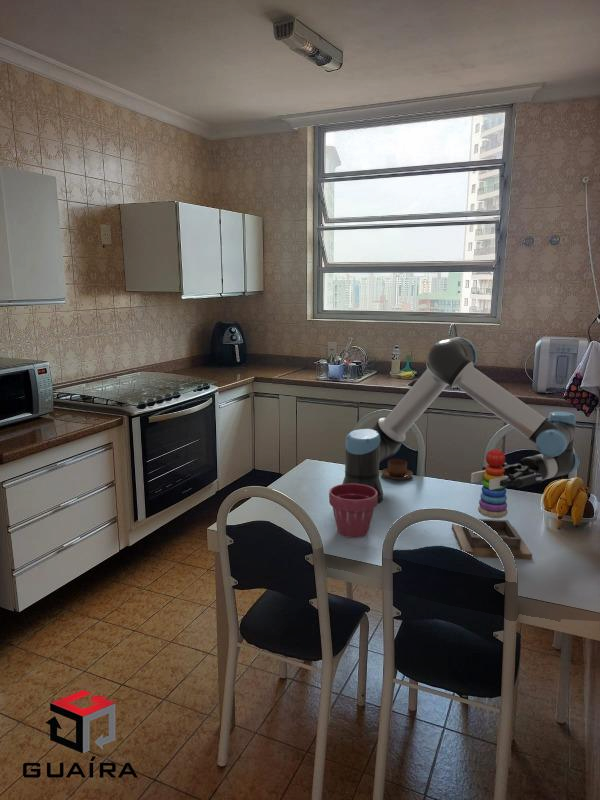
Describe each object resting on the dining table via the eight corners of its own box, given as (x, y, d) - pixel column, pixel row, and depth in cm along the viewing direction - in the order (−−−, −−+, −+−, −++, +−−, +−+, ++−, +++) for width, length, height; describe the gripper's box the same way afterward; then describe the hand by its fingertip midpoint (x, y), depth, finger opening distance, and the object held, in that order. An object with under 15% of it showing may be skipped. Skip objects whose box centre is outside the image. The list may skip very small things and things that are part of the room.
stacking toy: (508, 510, 158) (513, 447, 154) (506, 521, 151) (512, 456, 147) (479, 506, 161) (484, 444, 157) (476, 516, 154) (481, 452, 150)
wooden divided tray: (463, 556, 150) (464, 540, 149) (451, 528, 168) (452, 514, 167) (531, 559, 148) (533, 543, 147) (513, 531, 166) (514, 517, 165)
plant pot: (320, 534, 163) (320, 493, 161) (342, 518, 175) (342, 480, 173) (364, 546, 156) (365, 503, 153) (384, 528, 168) (385, 488, 165)
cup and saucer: (386, 470, 223) (387, 455, 222) (415, 474, 218) (416, 459, 217) (377, 479, 212) (378, 463, 211) (408, 483, 207) (408, 468, 206)
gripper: (564, 490, 156) (507, 505, 144) (510, 471, 172) (455, 484, 160) (566, 464, 154) (509, 477, 143) (511, 448, 170) (456, 459, 159)
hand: (481, 481), depth 152 cm, fingers closed on stacking toy, 6 cm apart
